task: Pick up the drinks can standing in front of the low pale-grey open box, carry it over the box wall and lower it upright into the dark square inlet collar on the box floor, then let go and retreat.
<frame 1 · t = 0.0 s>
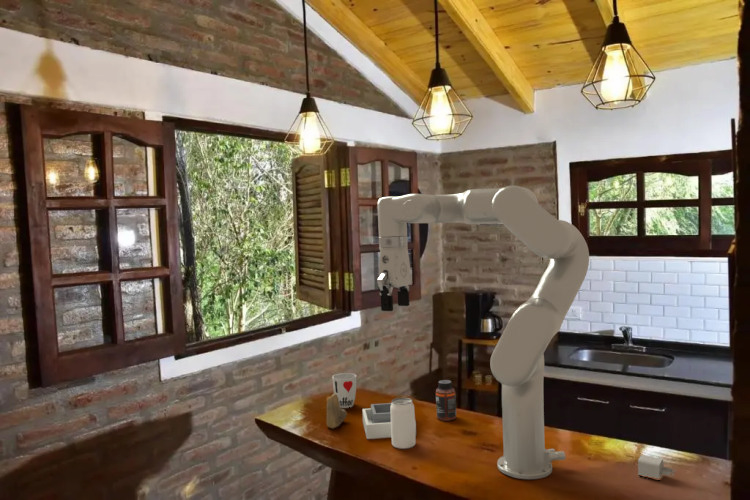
hand: (395, 308, 144), 37 cm above the table, tool pointing down, fingers open, 9 cm apart
cup: (345, 406, 182), on the table
usb wall charger: (657, 478, 122), on the table
inlet box: (388, 428, 160), on the table
stone: (335, 426, 164), on the table
can: (403, 445, 147), on the table
supplement bottle: (446, 418, 166), on the table
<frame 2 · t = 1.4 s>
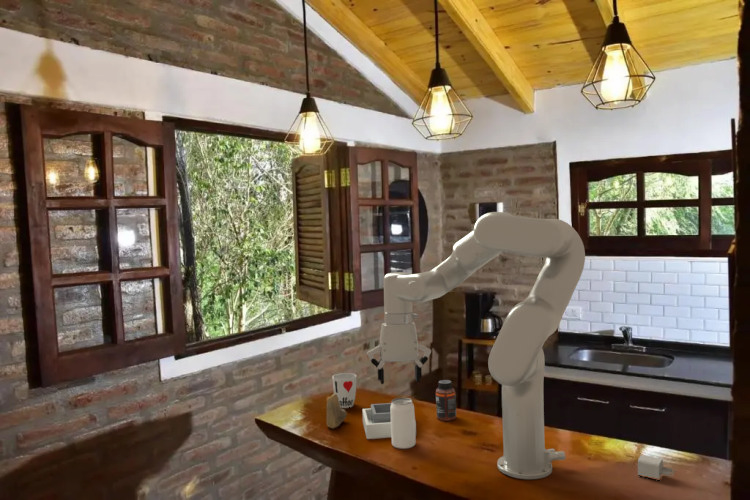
hand: (399, 381, 147), 17 cm above the table, tool pointing down, fingers open, 9 cm apart
nothing on the table moved.
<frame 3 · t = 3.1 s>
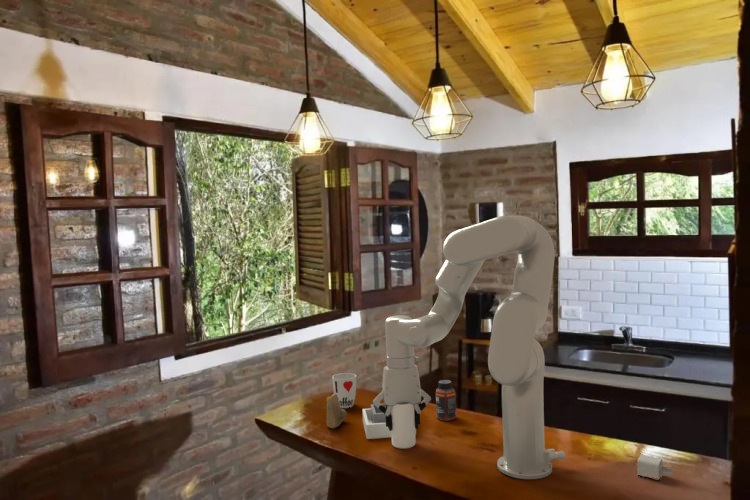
hand: (403, 427, 147), 5 cm above the table, tool pointing down, fingers closed on can, 6 cm apart
can: (403, 445, 147), on the table, touching gripper
everything else where it was.
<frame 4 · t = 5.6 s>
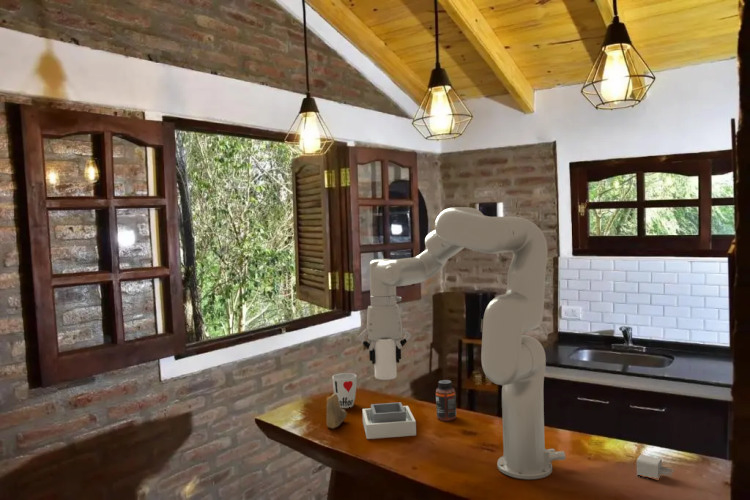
hand: (385, 361, 159), 20 cm above the table, tool pointing down, fingers closed on can, 6 cm apart
can: (385, 378, 159), point 15 cm above the table, touching gripper
everything else where it was.
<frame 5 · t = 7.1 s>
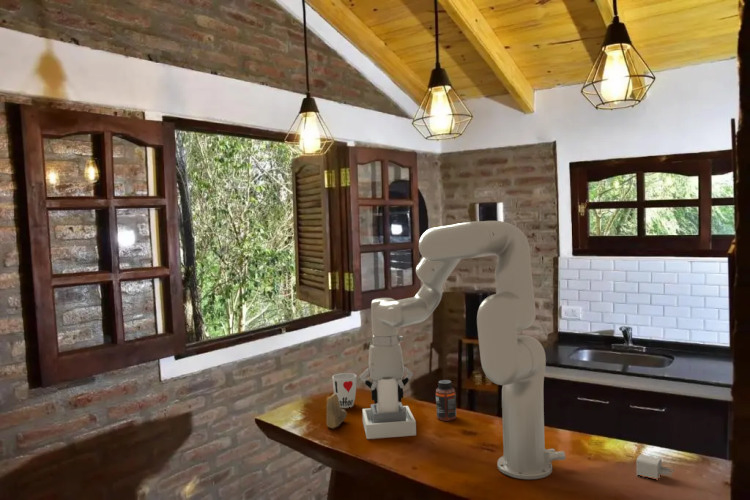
hand: (387, 400, 159), 8 cm above the table, tool pointing down, fingers closed on can, 6 cm apart
can: (388, 417, 160), point 3 cm above the table, touching gripper
everything else where it was.
when the fingers open (7 cm above the table, at t = 8.1 s): can drops 2 cm, resting on inlet box.
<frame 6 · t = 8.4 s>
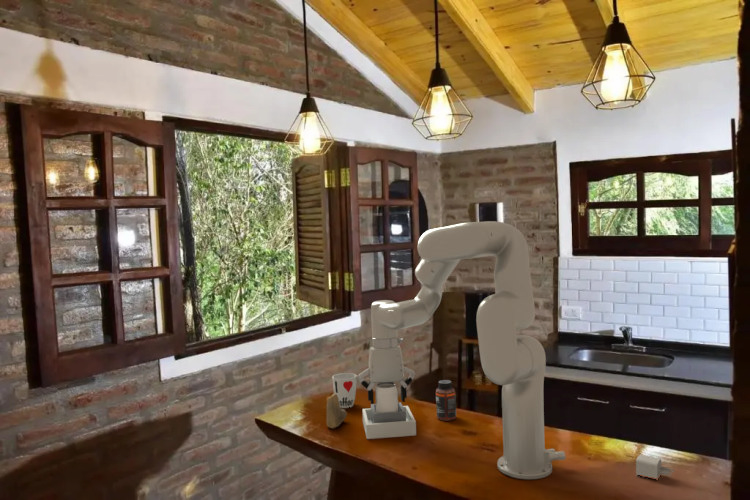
hand: (387, 401, 159), 8 cm above the table, tool pointing down, fingers open, 8 cm apart
can: (388, 425, 159), point 1 cm above the table, touching inlet box
everything else where it was.
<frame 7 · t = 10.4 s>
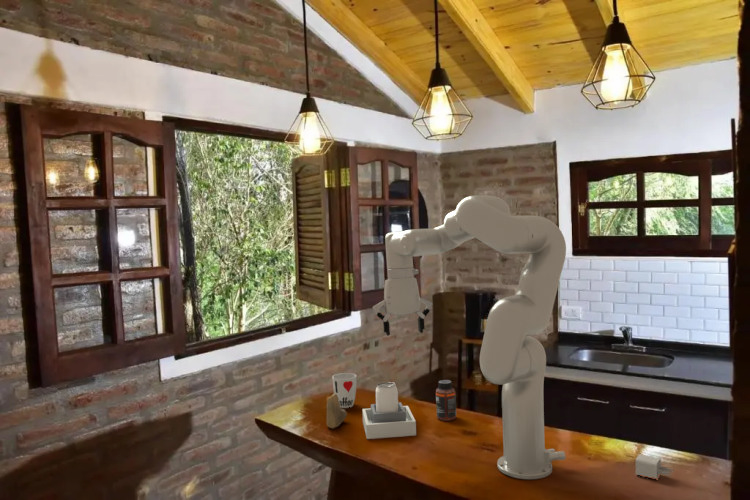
hand: (404, 333, 157), 28 cm above the table, tool pointing down, fingers open, 9 cm apart
nothing on the table moved.
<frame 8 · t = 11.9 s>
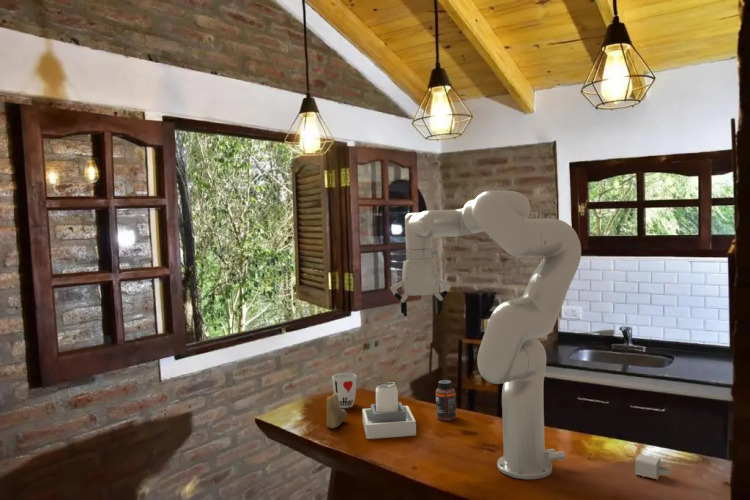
hand: (421, 314, 157), 33 cm above the table, tool pointing down, fingers open, 9 cm apart
nothing on the table moved.
at the end: can 0.2 cm off-centre on the inlet box, point 0.8 cm above the inlet box's base; can tilted 0°; the gripper is holding nothing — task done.
